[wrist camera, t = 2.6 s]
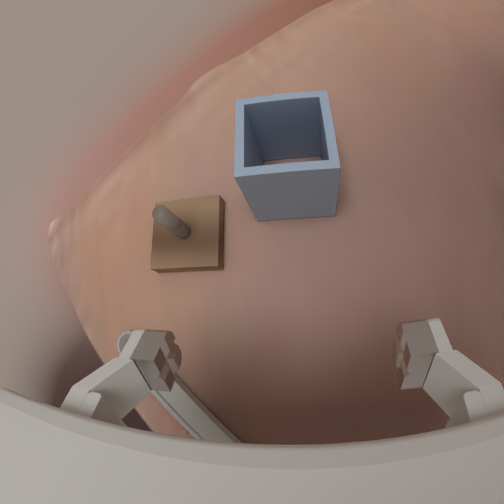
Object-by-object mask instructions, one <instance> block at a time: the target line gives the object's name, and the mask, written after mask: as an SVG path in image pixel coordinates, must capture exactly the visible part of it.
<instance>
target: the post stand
mask: <svg viewBox="0 0 504 504" xmlns="http://www.w3.org/2000/svg"><path fill="white" fill-rule="evenodd" d="M224 204H225V202H224V201H223V199H222V198H221V196H220V195H216V196H207V197H198V198H190V199H182V200H175V201H167V202H160V203H156V206H155V209H154V210H153V213H152V215H153V218H154V227H153V239H152V253H151V268H150V269H151V270H154V271H156V272H158V273H161V272H184V271H205V270H223V267H224Z"/></svg>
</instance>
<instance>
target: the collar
mask: <svg viewBox="0 0 504 504" xmlns="http://www.w3.org/2000/svg"><path fill="white" fill-rule="evenodd" d="M314 156H322V160H321V161H307V162H295V163H283V164H272V165H264V161H268V160H278V159H289V158H301V157H314ZM234 178H235V179H236V181H237V183H238V185H239V187H240V189H241V190H242V192H243V194H244V196H245V198H246V200H247V201H248V203H249V205H250V207H251V209H252V211H253V212H254V214H255V216H256V218H257V220H258V221H270V220H284V219H297V218H312V217H327V216H336V207H337V198H338V188H339V178H340V162H339V155H338V149H337V143H336V137H335V131H334V126H333V120H332V115H331V110H330V105H329V100H328V95H327V90H323V91H308V92H296V93H286V94H276V95H268V96H260V97H252V98H245V99H238V100H236V111H235V160H234Z"/></svg>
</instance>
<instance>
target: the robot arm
mask: <svg viewBox="0 0 504 504" xmlns="http://www.w3.org/2000/svg"><path fill="white" fill-rule="evenodd" d="M397 334H398V337H397V338H396V339H395V342H394V353H393V354H394V361H395V365H396V366H397V367H398V368H399V371H398V380H399V385H400V389H401V390H402V389H411V388H419V387H423V389H424V390H425V391H426V392H427V393H428V395H429V396H430V397H431V398H432V399H433V400H434V401H435V402H436V403H437V404H438V405H439V406H440V408H441V409H442V410H443V411H444V412H445V413H446V414H447V415H448V416H449V417H450V419H449V421H448V423H447V424H446V426H445V427H444V429H440V430H435V431H430V432H425V433H419V434H414V435H408V436H401V437H394V438H387V439H379V440H370V441H360V442H348V443H333V444H306V445H276V444H249V443H233V442H221V441H211V440H202V439H194V438H186V437H179V436H173V435H167V434H161V433H155V432H150V431H144V430H139V429H134V428H130V427H127V426H126V425H125V424H124V423H123V422H122V420H121V419H122V418H123V417H124V416H125V415H126V414H128V413H129V412H130V411H131V410H132V409H133V408H134V407H135V406H136V405H137V404H138V403H139V402H140V401H141V400H142V399H144V398H145V397H146V396H147V395H148V394H149V393H150V392H151V390H155V391H166V392H171V389H172V387H173V384H174V382H175V379H176V378H175V376H174V373H175V372H177V371H178V370H179V368H180V365H181V358H182V356H181V351H180V348H179V346H178V345H176V344H175V343H174V340H175V337H174V334H173V332H171V331H165V330H149V329H147V330H146V329H135V330H134V331H133V332H132V334H131V336H130V337H129V339H128V341H127V343H126V345H125V346H124V348H123V350H122V352H121V353H120V355H119V357H118V358H114V359H112V360H111V361H109V362H108V363H106V364H105V365H103V366H102V367H100V368H99V369H98V370H96V371H94V372H93V373H91V374H90V375H88V376H87V377H85V378H84V379H83V380H81V381H80V382H78V383H76V384H75V385H74V386H72V388H71V390H70V392H69V393H68V395H67V397H66V398H65V400H64V402H63V404H62V405H61V407H60V408H57V407H53V406H51V405H48V404H45V403H42V402H40V401H37V400H34V399H32V398H29V397H26V396H23V395H21V394H19V393H16V392H14V391H12V390H9V389H7V388H0V504H504V389H503V387H502V384H501V382H499V381H498V380H497V379H495V378H494V377H493V376H491V375H490V374H489V373H487V372H486V371H485V370H483V369H482V368H481V367H479V366H478V365H477V364H475V363H474V362H473V361H471V360H470V359H468V358H467V357H466V356H464V355H463V354H462V353H460V352H459V351H458V350H453V349H452V346H451V344H450V342H449V339H448V337H447V334H446V332H445V330H444V327H443V325H442V323H441V321H440V319H439V318H432V319H425V320H418V321H409V322H401V323H399V324H398V327H397Z"/></svg>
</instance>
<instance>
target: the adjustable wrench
mask: <svg viewBox="0 0 504 504" xmlns="http://www.w3.org/2000/svg"><path fill="white" fill-rule="evenodd" d="M131 334H132V331H126V332H124V333H122V334H121V335H120V337H119V338H118V342H117V349H118V352H119V354H120V353H121V352H122V350H123V348H124V346H125V345H126V343H127V340H128V339H129V337H130V336H131ZM174 376H175V378H176V379H175V382H174V384H173V387H172V389H171V392H166V391H155V390H151V393H152V394H153V395H154V396H155V397H156V398H157V400H158V401H159V402H160V403H161V404H162V405H163V406H164V407H165V408H166V409H167V410H168V412H169V413H170V414H171V415H172V416H173V417H174V418H175V419H176V420H177V421H178V422H179V423H180V424H181V425H182V426H183V427H184V428H185V429H186V430H187V431H188V432H189V433H190V434H191V435H192V436H193V437H194V438H195V439H202V440H211V441H221V442H233V443H242V442H241V441H240V440H239V439H238V438H236V437H235V436H234V435H233V434H232V433H231V432H230V431H229V430H228V429H227V428H226V427H225V426H224V425H223V424H222V423H221V422H220V421H219V420H218V419H217V418H216V417H215V416H214V415H213V414H212V413H211V412H210V411H209V410H208V409H207V408H206V407H205V406H204V405H203V404H202V403H201V402H200V400H199V399H198V398H197V397H196V396H195V395H194V394H193V393H192V392H191V391H190V390H189V389H188V388H187V386H186V385H185V384H184V383H183V382H182V381H181V380H180V379H179V378H178V376H177V375H176V374H175V373H174Z"/></svg>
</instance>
